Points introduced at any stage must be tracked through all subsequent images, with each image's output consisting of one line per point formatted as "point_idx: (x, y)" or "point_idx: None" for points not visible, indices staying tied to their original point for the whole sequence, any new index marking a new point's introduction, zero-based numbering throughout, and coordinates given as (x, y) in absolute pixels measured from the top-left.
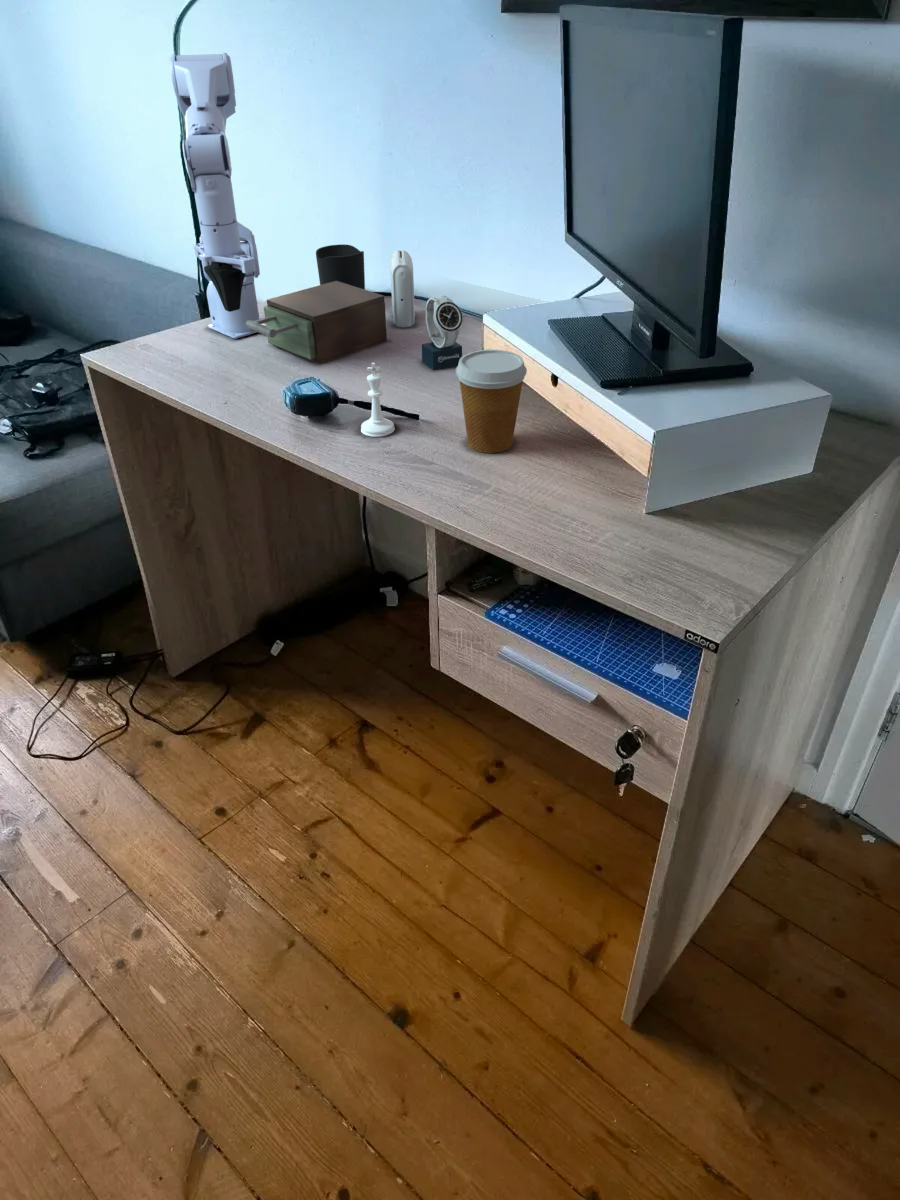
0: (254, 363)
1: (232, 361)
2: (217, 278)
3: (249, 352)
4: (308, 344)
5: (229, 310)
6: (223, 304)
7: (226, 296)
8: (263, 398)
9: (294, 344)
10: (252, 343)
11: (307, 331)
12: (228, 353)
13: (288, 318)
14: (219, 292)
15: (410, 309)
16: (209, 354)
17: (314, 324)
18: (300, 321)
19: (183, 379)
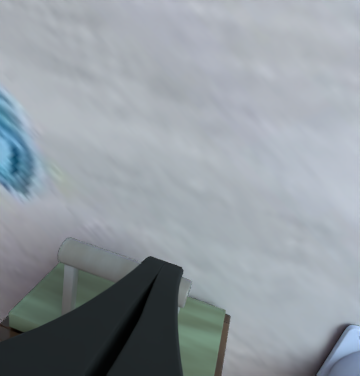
0: (187, 209)
1: (250, 199)
2: (46, 370)
3: (251, 263)
4: (48, 274)
5: (145, 259)
6: (170, 278)
7: (103, 293)
8: (6, 38)
9: (109, 285)
10: (287, 313)
11: (25, 296)
12: (301, 240)
13: None
14: (153, 318)
15: None
16: (353, 216)
17: (5, 318)
18: (35, 321)
19: (292, 12)
